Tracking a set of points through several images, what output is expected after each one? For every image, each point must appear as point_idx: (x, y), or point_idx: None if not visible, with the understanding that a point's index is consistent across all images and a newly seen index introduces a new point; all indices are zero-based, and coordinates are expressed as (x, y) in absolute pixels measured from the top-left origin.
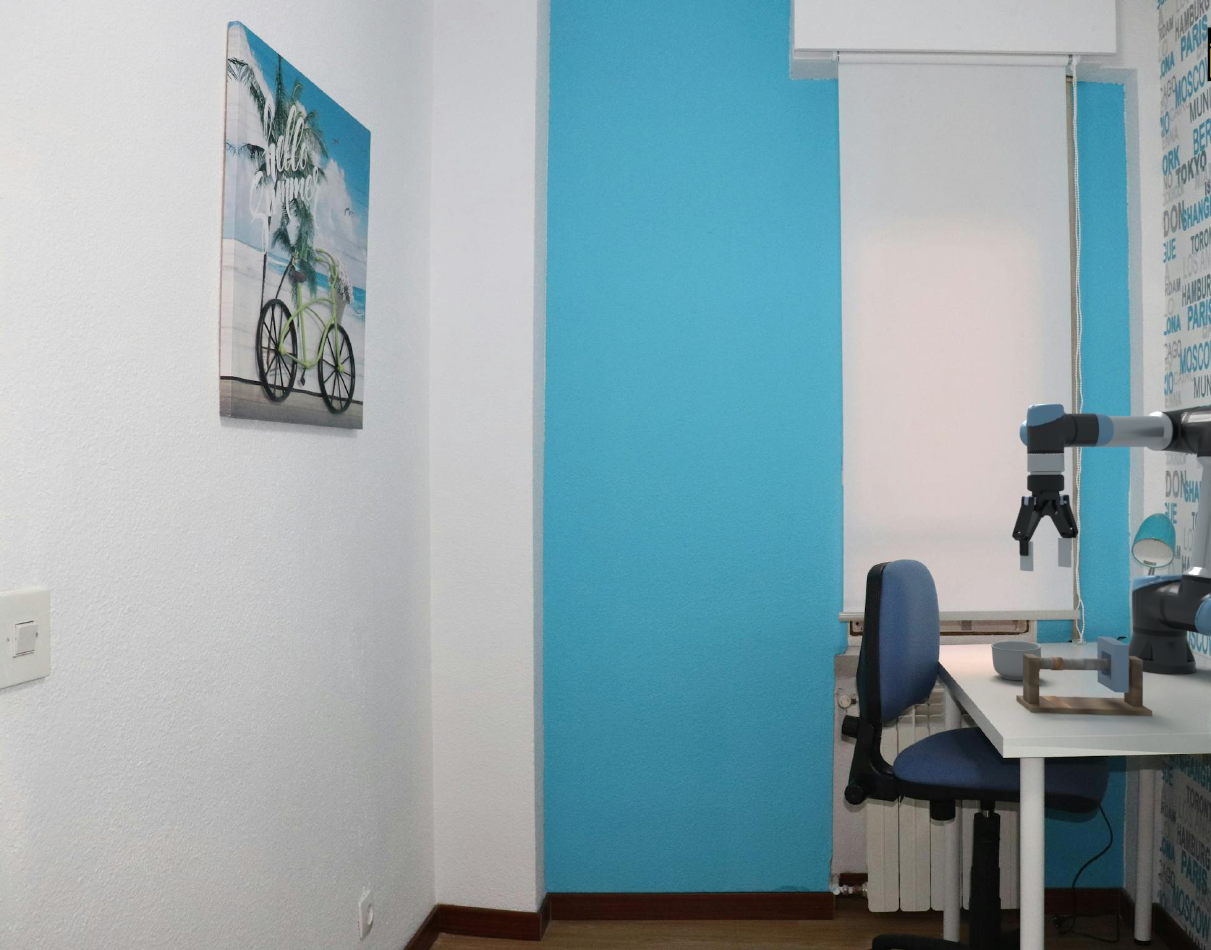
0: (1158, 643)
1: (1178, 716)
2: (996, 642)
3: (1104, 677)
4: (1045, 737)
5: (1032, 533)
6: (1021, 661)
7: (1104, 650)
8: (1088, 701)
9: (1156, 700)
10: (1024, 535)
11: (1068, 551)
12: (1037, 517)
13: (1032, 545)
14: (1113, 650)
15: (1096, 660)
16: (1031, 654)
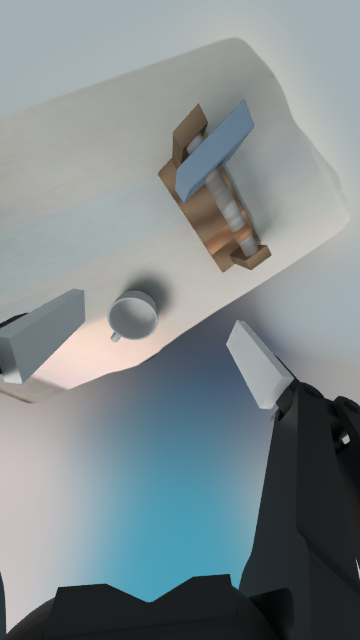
0: None
1: (182, 94)
2: (131, 339)
3: (202, 184)
4: (341, 196)
5: (306, 409)
6: (152, 302)
7: (209, 172)
8: (204, 208)
9: (121, 152)
10: (355, 407)
11: (55, 312)
12: (350, 540)
13: (277, 365)
14: (242, 139)
15: (223, 183)
16: (248, 261)
